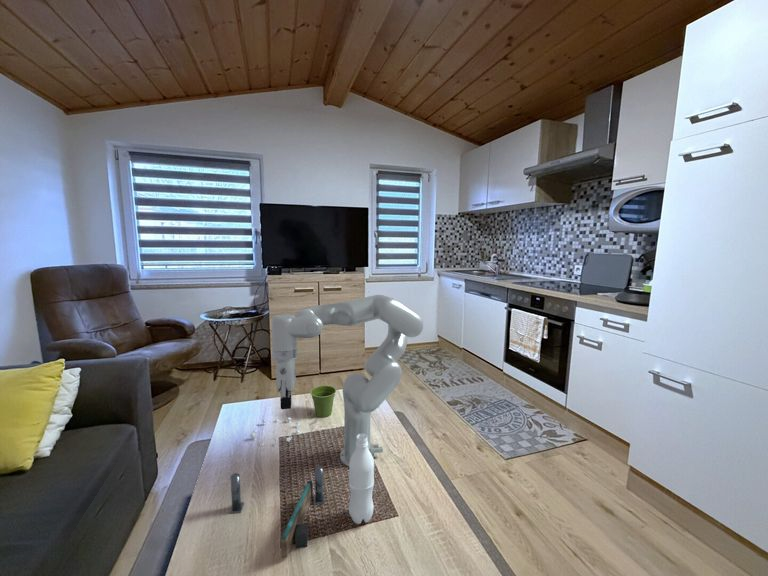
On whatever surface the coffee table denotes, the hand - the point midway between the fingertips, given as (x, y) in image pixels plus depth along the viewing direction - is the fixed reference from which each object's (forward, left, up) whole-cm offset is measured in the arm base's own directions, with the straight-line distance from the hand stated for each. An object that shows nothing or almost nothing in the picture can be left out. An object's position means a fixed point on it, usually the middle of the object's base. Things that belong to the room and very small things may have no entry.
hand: (286, 407), depth 106 cm
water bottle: (-23, +19, -25) cm, 39 cm away
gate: (-6, +20, -24) cm, 32 cm away
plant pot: (-11, -41, -25) cm, 49 cm away
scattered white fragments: (+8, -28, -26) cm, 39 cm away
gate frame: (+1, +18, -25) cm, 31 cm away
